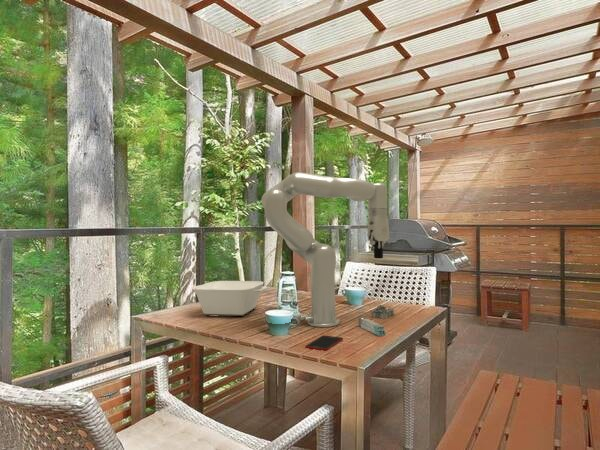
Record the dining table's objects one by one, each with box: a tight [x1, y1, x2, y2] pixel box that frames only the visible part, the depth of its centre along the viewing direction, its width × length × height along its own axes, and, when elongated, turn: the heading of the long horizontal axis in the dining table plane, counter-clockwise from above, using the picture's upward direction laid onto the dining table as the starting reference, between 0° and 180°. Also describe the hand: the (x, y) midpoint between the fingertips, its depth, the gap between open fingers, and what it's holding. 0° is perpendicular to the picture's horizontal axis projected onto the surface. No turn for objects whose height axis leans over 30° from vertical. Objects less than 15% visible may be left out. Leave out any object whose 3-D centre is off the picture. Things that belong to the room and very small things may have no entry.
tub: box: [192, 280, 268, 317], centre depth 191 cm, size 34×27×13 cm
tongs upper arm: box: [362, 318, 385, 331], centre depth 153 cm, size 13×3×2 cm, turn 17°
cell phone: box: [304, 335, 344, 352], centre depth 139 cm, size 8×15×1 cm, turn 153°
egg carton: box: [370, 304, 395, 320], centre depth 179 cm, size 11×8×4 cm
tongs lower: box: [358, 316, 386, 337], centre depth 155 cm, size 16×3×3 cm, turn 19°
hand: (378, 258), depth 172 cm, fingers closed
